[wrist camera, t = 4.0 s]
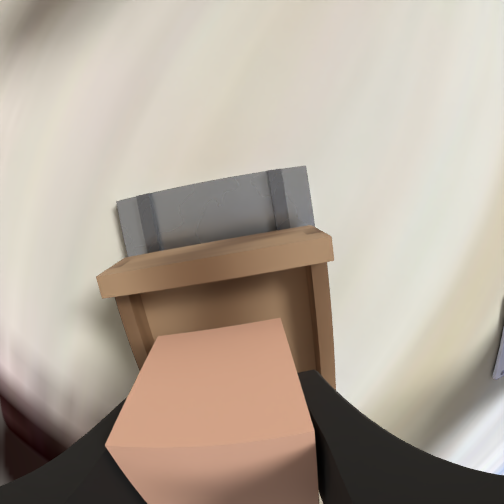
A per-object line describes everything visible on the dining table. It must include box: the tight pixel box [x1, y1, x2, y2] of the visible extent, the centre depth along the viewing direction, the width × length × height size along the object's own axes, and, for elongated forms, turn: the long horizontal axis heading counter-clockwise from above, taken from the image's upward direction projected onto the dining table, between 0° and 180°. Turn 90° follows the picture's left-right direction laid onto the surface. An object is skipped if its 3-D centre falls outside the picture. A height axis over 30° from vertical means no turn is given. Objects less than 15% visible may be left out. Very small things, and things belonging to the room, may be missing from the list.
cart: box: [96, 225, 336, 390], centre depth 12 cm, size 8×8×4 cm
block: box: [105, 318, 319, 504], centre depth 7 cm, size 4×4×5 cm
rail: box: [116, 166, 315, 257], centre depth 16 cm, size 9×23×2 cm, turn 10°
